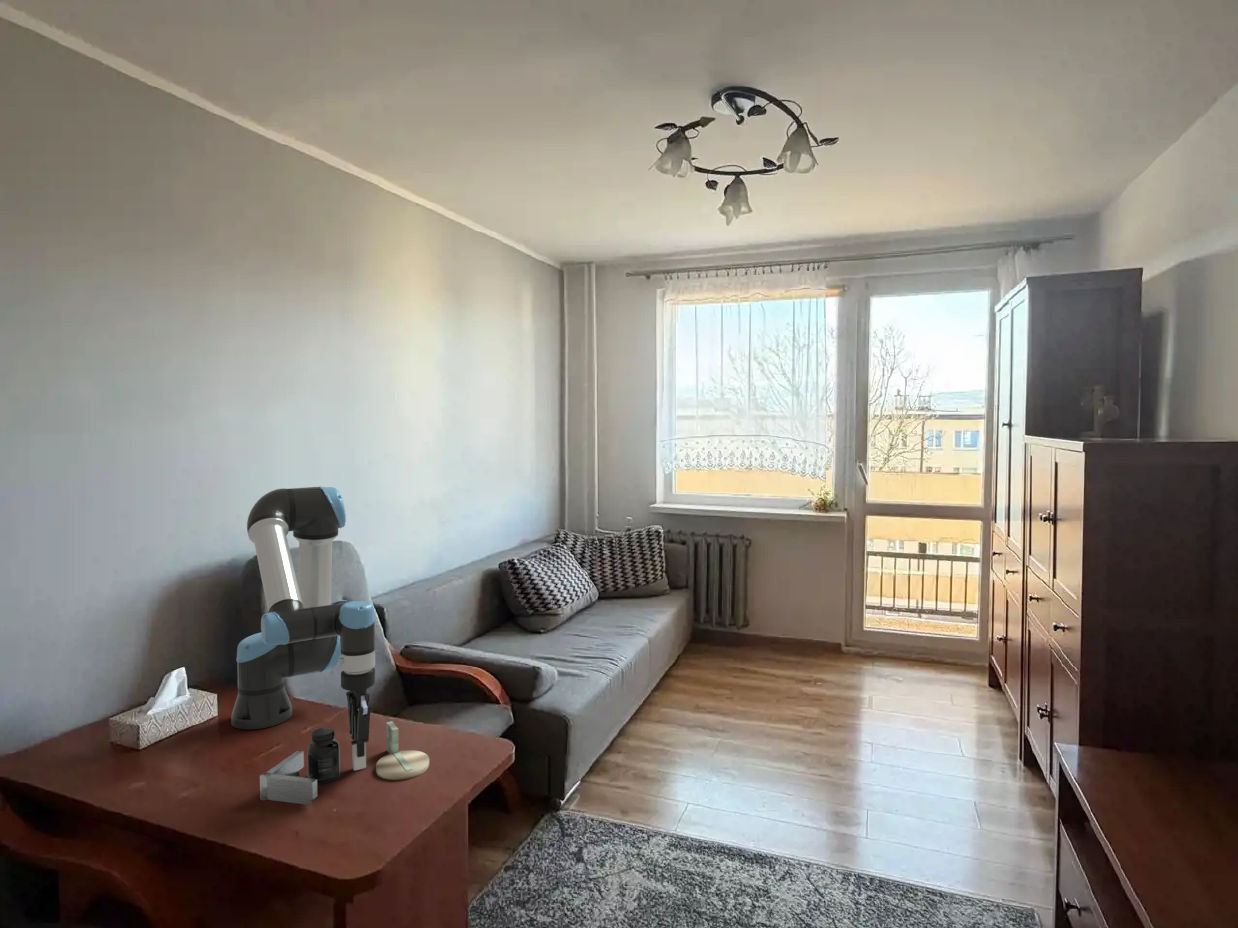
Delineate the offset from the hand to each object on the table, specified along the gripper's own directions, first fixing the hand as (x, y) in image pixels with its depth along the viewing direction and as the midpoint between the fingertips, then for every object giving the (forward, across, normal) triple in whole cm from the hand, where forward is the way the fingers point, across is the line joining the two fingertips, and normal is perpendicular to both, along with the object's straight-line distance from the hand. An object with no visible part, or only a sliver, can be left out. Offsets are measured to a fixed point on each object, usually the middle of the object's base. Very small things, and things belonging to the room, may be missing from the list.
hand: (359, 767), depth 169 cm
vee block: (+1, 0, -16) cm, 16 cm away
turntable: (0, +3, +9) cm, 9 cm away
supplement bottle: (+2, 0, -8) cm, 8 cm away
